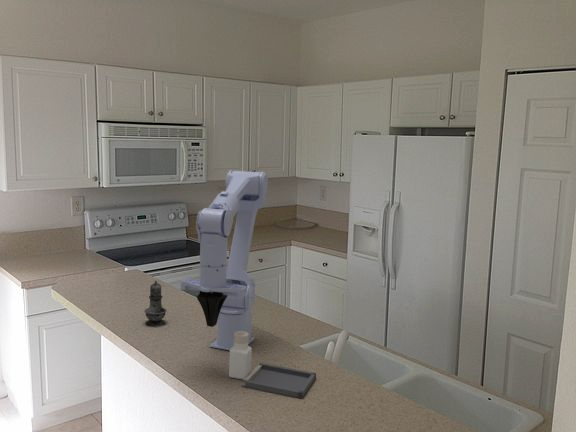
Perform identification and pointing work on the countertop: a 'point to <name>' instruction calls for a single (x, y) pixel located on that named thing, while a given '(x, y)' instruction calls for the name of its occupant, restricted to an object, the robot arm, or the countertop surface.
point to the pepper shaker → (240, 356)
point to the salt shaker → (155, 307)
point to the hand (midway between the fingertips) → (211, 325)
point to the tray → (279, 380)
